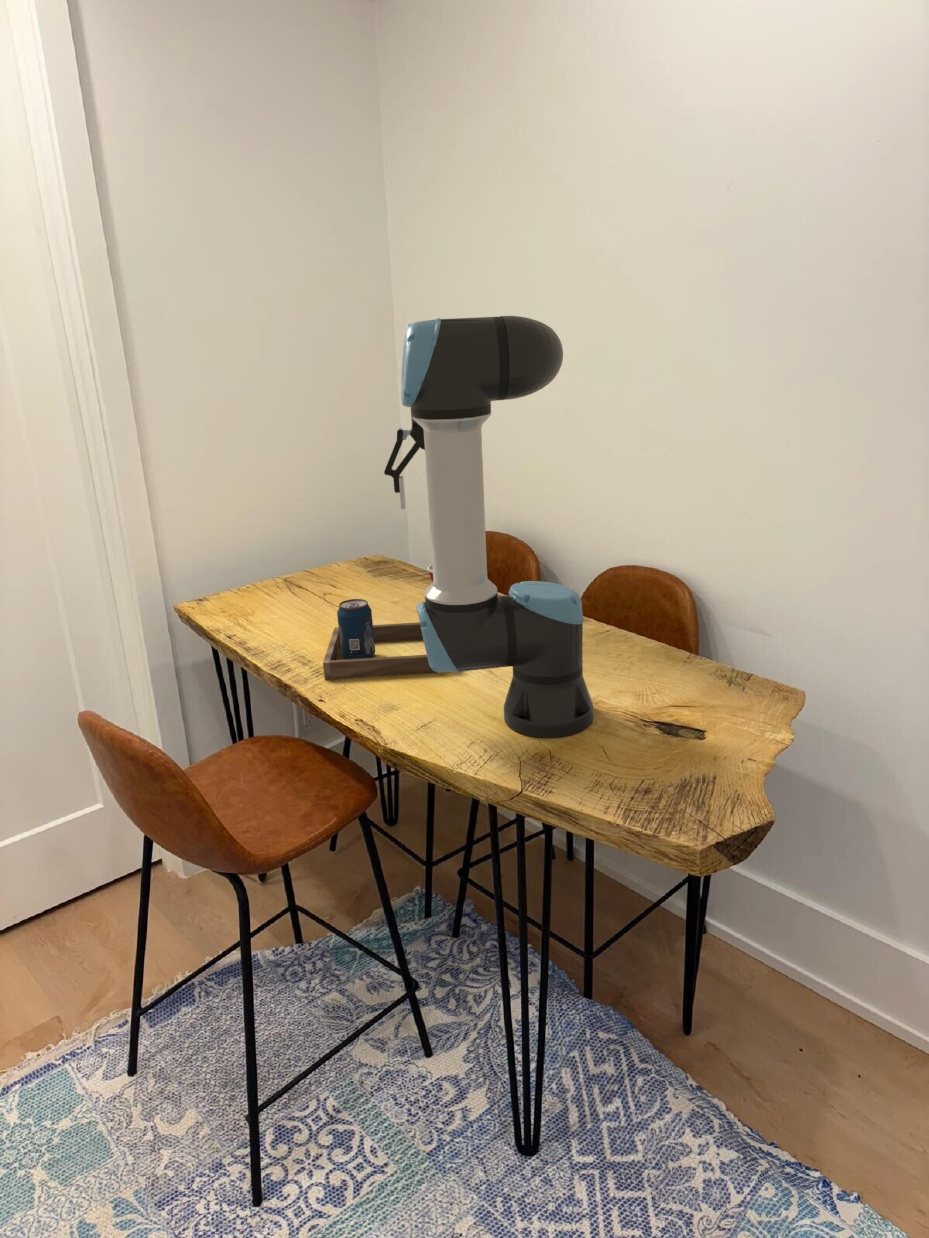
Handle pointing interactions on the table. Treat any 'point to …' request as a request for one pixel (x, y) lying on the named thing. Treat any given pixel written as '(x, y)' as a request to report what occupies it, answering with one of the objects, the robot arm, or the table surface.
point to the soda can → (356, 629)
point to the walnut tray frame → (381, 664)
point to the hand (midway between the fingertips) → (435, 506)
